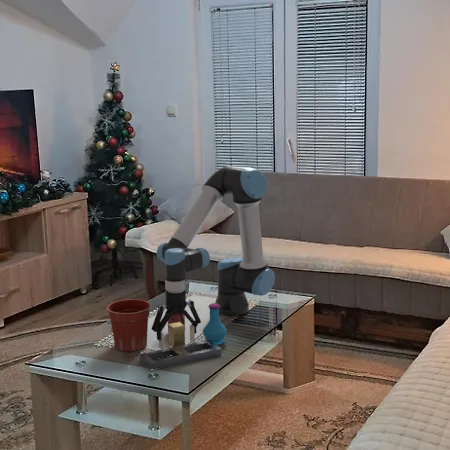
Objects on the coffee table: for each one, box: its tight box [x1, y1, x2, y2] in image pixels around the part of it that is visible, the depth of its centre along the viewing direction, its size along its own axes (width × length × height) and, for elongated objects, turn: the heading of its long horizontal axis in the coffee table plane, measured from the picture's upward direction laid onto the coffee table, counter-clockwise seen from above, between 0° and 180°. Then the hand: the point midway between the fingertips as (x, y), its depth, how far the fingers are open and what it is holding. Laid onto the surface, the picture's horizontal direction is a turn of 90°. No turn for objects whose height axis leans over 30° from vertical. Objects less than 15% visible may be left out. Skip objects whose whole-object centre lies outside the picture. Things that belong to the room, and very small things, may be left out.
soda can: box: [167, 313, 186, 333], centre depth 281 cm, size 7×7×12 cm
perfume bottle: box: [202, 302, 228, 346], centre depth 271 cm, size 9×9×15 cm
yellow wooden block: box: [168, 322, 186, 348], centre depth 266 cm, size 4×4×9 cm
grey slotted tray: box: [139, 339, 222, 371], centre depth 257 cm, size 28×10×2 cm, turn 118°
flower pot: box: [106, 298, 152, 353], centre depth 267 cm, size 16×16×16 cm
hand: (177, 344), depth 267 cm, fingers open, 12 cm apart
